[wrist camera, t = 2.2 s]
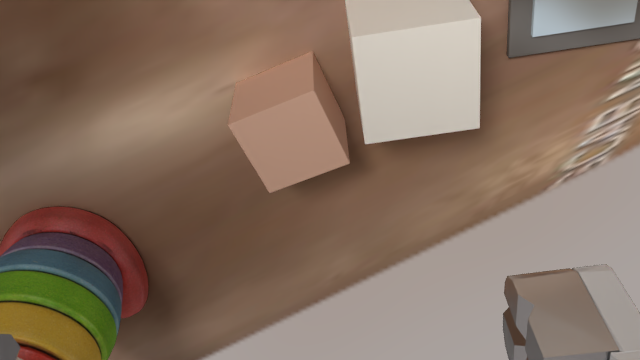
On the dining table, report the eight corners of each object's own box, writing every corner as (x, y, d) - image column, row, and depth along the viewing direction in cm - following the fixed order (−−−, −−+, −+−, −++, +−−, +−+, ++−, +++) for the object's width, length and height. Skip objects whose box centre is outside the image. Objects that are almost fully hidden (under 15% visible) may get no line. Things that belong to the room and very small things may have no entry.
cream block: (344, -6, 32) (351, 37, 28) (453, -23, 32) (480, 17, 27) (356, 91, 36) (364, 144, 31) (455, 76, 35) (479, 128, 31)
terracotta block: (236, 82, 35) (227, 124, 31) (312, 50, 34) (313, 90, 30) (273, 146, 38) (269, 193, 34) (344, 118, 37) (349, 163, 33)
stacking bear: (5, 296, 45) (-132, 548, 31) (-15, 192, 40) (-195, 445, 25) (148, 309, 47) (81, 558, 32) (150, 212, 41) (68, 462, 26)
